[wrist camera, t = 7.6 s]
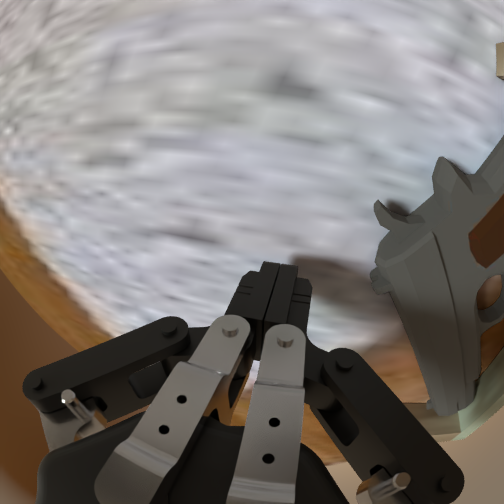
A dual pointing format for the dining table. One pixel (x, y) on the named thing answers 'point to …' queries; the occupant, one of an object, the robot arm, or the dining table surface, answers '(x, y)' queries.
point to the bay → (486, 387)
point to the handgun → (446, 275)
